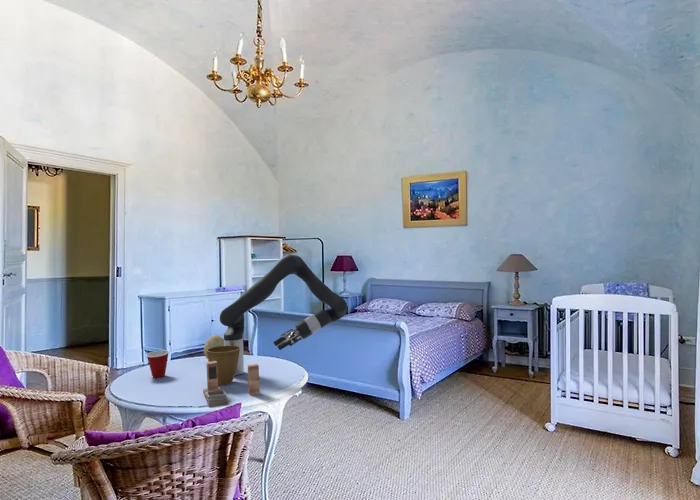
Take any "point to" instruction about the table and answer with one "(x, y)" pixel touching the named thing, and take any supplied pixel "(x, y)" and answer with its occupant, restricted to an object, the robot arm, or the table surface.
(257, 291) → the robot arm
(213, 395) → the gravestone
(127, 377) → the table surface
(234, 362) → the plant pot
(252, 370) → the tall copper pillar
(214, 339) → the fossilized egg
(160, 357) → the plastic cup
